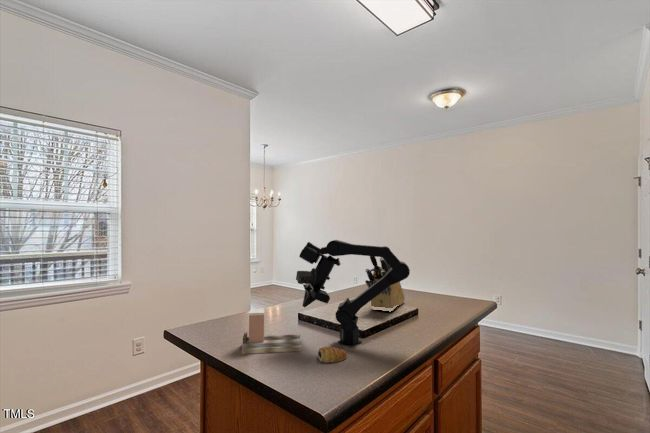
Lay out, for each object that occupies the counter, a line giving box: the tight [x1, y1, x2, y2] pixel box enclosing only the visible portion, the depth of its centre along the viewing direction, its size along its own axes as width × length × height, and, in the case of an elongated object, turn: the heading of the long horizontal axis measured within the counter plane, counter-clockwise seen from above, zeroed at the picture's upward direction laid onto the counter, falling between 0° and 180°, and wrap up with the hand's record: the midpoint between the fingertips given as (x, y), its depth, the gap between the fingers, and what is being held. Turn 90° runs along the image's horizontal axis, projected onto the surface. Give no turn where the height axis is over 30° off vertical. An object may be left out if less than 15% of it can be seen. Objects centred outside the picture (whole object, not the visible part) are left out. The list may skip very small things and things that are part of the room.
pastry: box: [317, 346, 348, 364], centre depth 104 cm, size 9×7×4 cm
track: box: [241, 332, 302, 355], centre depth 114 cm, size 20×10×4 cm, turn 98°
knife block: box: [365, 256, 405, 308], centre depth 167 cm, size 11×35×31 cm, turn 152°
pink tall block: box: [248, 308, 266, 343], centre depth 113 cm, size 5×5×11 cm
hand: (303, 306), depth 121 cm, fingers closed
